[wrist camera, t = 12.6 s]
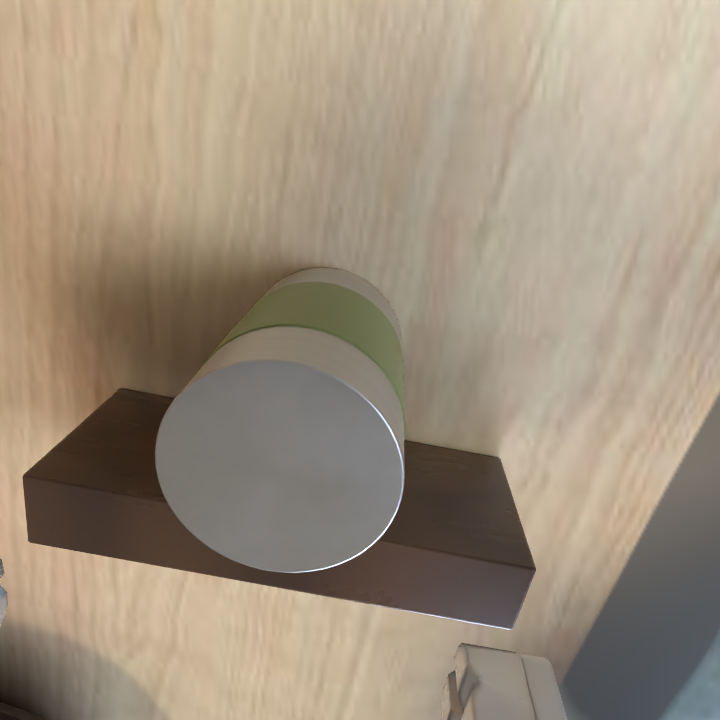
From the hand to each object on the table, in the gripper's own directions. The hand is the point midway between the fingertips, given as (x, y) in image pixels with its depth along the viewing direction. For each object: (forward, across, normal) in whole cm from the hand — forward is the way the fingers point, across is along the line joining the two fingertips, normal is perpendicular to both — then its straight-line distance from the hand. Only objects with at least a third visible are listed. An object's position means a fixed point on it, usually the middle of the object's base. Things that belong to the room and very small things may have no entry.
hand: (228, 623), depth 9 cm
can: (+15, 0, 0) cm, 15 cm away
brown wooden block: (+15, 0, +7) cm, 16 cm away
